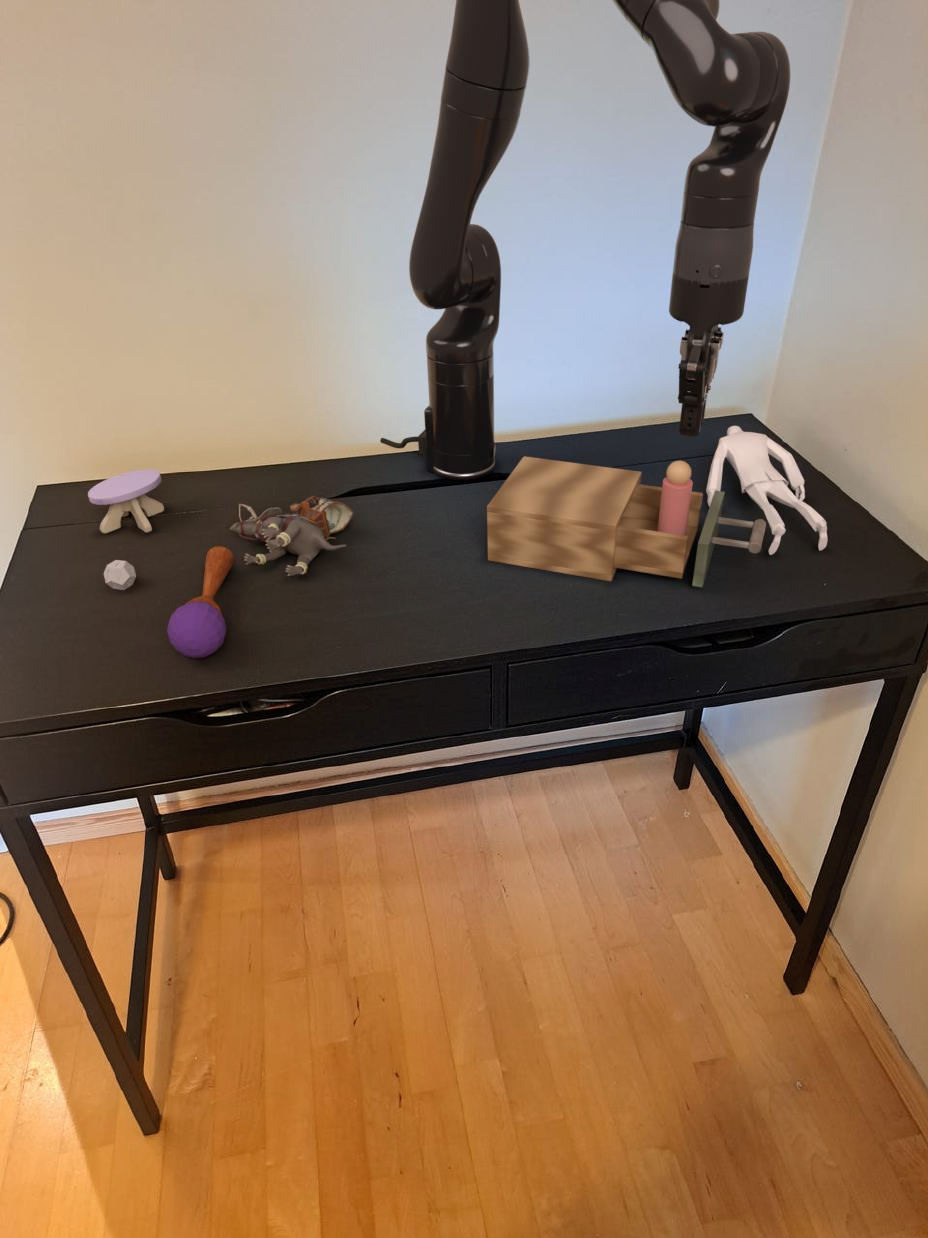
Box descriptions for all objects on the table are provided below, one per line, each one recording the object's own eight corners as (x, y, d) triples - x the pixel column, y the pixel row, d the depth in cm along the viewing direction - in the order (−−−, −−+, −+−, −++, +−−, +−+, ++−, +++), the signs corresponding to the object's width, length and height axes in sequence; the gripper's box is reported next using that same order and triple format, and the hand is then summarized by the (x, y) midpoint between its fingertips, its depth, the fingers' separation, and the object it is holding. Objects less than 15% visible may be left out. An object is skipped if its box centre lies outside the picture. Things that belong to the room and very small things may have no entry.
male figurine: (844, 560, 112) (771, 450, 130) (859, 521, 108) (781, 412, 126) (739, 569, 111) (680, 457, 129) (749, 530, 107) (687, 420, 125)
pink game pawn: (653, 549, 108) (662, 465, 102) (658, 535, 111) (668, 453, 105) (682, 553, 107) (692, 469, 101) (686, 540, 110) (697, 457, 104)
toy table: (159, 498, 127) (150, 461, 124) (180, 523, 121) (171, 485, 118) (89, 518, 123) (78, 480, 120) (107, 545, 117) (95, 506, 114)
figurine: (191, 521, 110) (270, 467, 123) (203, 564, 114) (279, 507, 126) (327, 543, 103) (397, 483, 115) (336, 588, 106) (403, 525, 118)
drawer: (763, 539, 112) (771, 497, 108) (751, 596, 101) (760, 552, 98) (605, 516, 118) (608, 475, 114) (579, 567, 108) (582, 524, 104)
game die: (101, 592, 108) (95, 571, 106) (118, 575, 111) (111, 555, 109) (128, 595, 107) (121, 573, 105) (143, 578, 110) (138, 557, 108)
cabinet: (636, 524, 118) (641, 471, 113) (611, 581, 106) (615, 525, 102) (523, 507, 122) (523, 456, 118) (487, 560, 111) (486, 506, 107)
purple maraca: (245, 538, 109) (222, 622, 92) (244, 581, 112) (221, 670, 95) (195, 534, 108) (162, 617, 91) (195, 577, 111) (162, 666, 94)
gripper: (684, 250, 97) (668, 404, 107) (661, 284, 86) (645, 450, 96) (756, 254, 95) (732, 411, 104) (741, 289, 84) (716, 459, 94)
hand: (690, 429), depth 100 cm, fingers closed
